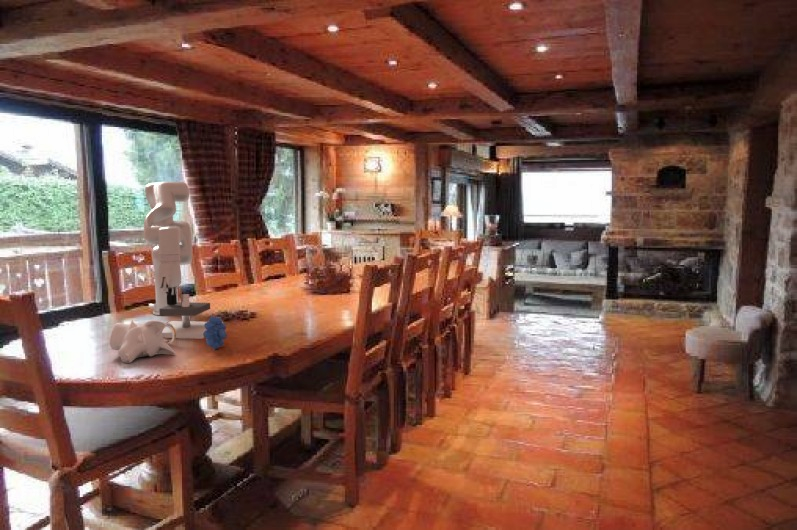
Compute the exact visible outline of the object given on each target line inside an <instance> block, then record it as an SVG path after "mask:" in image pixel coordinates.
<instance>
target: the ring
mask: <svg viewBox="0 0 797 530" xmlns="http://www.w3.org/2000/svg"><path fill="white" fill-rule="evenodd" d="M164 323H165V324H166V326H165V327H168V328H170V329H171V331H172V334H173V338H171V340H170V341H169V340H165V338H163V340H164V342H166V343H167V344H168V345H170V344H173V343H174V341H175V340H176V339H177V338H176V330H175V328H174V327H173V326H172V325H171V324H170V323H169V321H168V322H164ZM168 323H169V324H168Z"/></svg>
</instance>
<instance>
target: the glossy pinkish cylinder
mask: <svg viewBox="0 0 797 530" xmlns="http://www.w3.org/2000/svg"><path fill="white" fill-rule="evenodd" d="M180 302H181V307H189V306H190V305H189V302H190V294H188V293H183V294H180ZM181 321H182V327H183V328H188V327H190V321H191V316H181Z"/></svg>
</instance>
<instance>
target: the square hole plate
mask: <svg viewBox="0 0 797 530" xmlns="http://www.w3.org/2000/svg"><path fill="white" fill-rule="evenodd" d="M189 305H190V306H189V307H181V301H178V302H177V304H175V305H168V306H166V307H163V308H160V309H159V311H160V315H159V316H170V317H171V316H173V317H174V316H177V317H178V316H180V317H182V316H190V317H196V316H198V315H200V314H203V313H204V312H207V311H209V310H211V302H190V301H189Z"/></svg>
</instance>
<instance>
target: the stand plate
mask: <svg viewBox="0 0 797 530" xmlns="http://www.w3.org/2000/svg"><path fill="white" fill-rule="evenodd" d="M206 322H207V321H199V320H196V321H191V320H190V327H188V328H183V327H182V320H171V321H168V324H169V323H170V324H171V325H172V326H173V327H174V328H175V330H176V338H175V339H199V340H200V339H204V338H205V337H204V335H203V333H204V331H206V328H205V327H204V325H205V323H206ZM222 323H224V321H222ZM162 333H163V339H167V338H168V339H172V338H173V334H172V331H171V329H170V328H168V327H165V328H164V330H163V331H162ZM205 339H206V338H205Z"/></svg>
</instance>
